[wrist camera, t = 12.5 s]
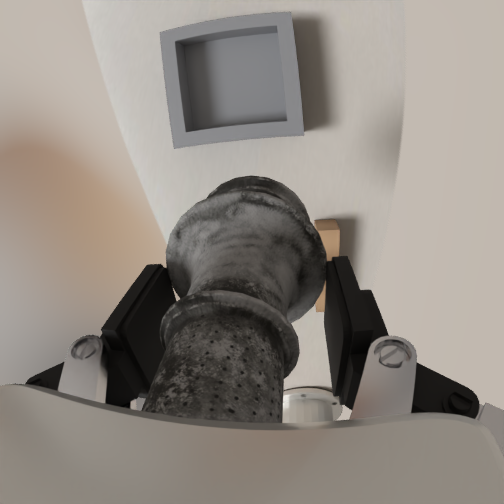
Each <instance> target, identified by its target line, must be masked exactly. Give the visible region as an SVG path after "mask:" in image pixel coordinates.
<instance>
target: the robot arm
mask: <svg viewBox="0 0 504 504" xmlns="http://www.w3.org/2000/svg"><path fill="white" fill-rule="evenodd" d="M176 302H177V301H176V298H175V295H174V291H173V287H172V284H171V281H170V277H169V274H168V271H167V268H164V267H163V266H162V265H161V264H154V265H153V264H150V265H147V266H146V267H145V268H144V270H143V271H142V272H141V274H140V275H139V277H138V278H137V279H136V280H135V282H134V283H133V284H132V286H131V287H130V289H129V290H128V291H127V293H126V294H125V296H124V297H123V298H122V300H121V301H120V302H119V304H118V305H117V307H116V308H115V310H114V311H113V313H112V314H111V315H110V317H109V318H108V320H107V321H106V323H105V324H104V326H103V327H102V329H101V331H102V335H101V336H100V337H99V336H96V335H86V336H82V337H80V338H79V339H77V340H76V341H74V342H73V343H72V344H71V346H70V347H69V349H68V352H67V355H66V359H65V362H63V363H61V364H58V365H56V366H54V367H52V368H50V369H48V370H45V371H43V372H41V373H39V374H37V375H35V376H33V377H31V378H29V379H28V381H27V382H26V383H25V384H16V383H15V384H6V385H2V386H0V504H504V410H502V409H499V408H497V407H495V406H493V405H490V404H488V403H485V405H484V406H483V405H480V404H479V400H478V398H477V396H476V394H475V393H474V392H473V391H472V390H470V389H469V388H467V387H465V386H463V385H461V384H459V383H457V382H455V381H453V380H451V379H449V378H447V377H445V376H443V375H441V374H439V373H437V372H435V371H433V370H431V369H429V368H427V367H425V366H423V365H421V364H419V363H417V354H416V350H415V348H414V346H413V345H412V344H411V343H410V342H409V341H407V340H406V339H404V338H401V337H398V336H389V335H388V332H387V329H386V327H385V324H384V321H383V319H382V316H381V313H380V311H379V308H378V306H377V303H376V301H375V298H374V296H373V293H372V291H371V290H360V288H359V285H358V283H357V280H356V277H355V275H354V272H353V269H352V267H351V264H350V261H349V259H348V257H347V256H337V257H332V261H327V263H326V290H325V311H324V328H325V335H326V342H327V349H328V357H329V365H330V373H331V382H332V391H333V393H332V392H329V391H326V390H323V389H317V388H298V389H291V390H287V391H284V392H283V420H282V423H247V422H227V421H214V420H202V419H190V418H182V417H175V416H169V415H162V414H156V413H150V412H144V411H138V410H136V399H137V398H138V397H140V398H146V397H147V395H148V392H149V390H150V387H151V385H152V383H153V380H154V378H155V375H156V373H157V370H158V368H159V365H160V363H161V361H162V358H163V356H164V353H165V351H164V349H163V347H162V345H161V339H160V327H161V322H162V318H163V317H164V315H165V314H166V312H167V311H168V309H169V308H170V306H171V305H173V304H174V303H176ZM338 396H339V397H338ZM342 405H345V406H346V407H348V408H349V409H351V410H352V413H351V416H350V419H349V420H341V421H335V420H336V419H337V418H338V417H339V416H340V415H341V413H342Z"/></svg>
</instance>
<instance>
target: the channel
mask: <svg viewBox="0 0 504 504" xmlns="http://www.w3.org/2000/svg"><path fill="white" fill-rule="evenodd" d="M315 228H316V230H317V231H318V232H319V234H320V237H321V240H322V242H323V245H324V248H325V250H326V253H327V261H332V257H337V256H339V241H340V229H339V227H338V225H337V222H336V220H335V219H332V220H315ZM325 290H326V281H325V285H324V288H323V291H322V293H321V294H320V296H319V298H318V299H317V301H316V303H315V305H316V312H324V311H325Z"/></svg>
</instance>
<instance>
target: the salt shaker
mask: <svg viewBox="0 0 504 504" xmlns="http://www.w3.org/2000/svg"><path fill="white" fill-rule="evenodd" d="M326 263H327V253H326V250H325V248H324V245H323V242H322V240H321V237H320V234H319V232H318V231H317V230H316V228H315V227H314V226H313V224H312V223H311V222H310V219H309V216H308V213H307V211H306V208H305V206H304V204H303V203H302V202H301V200H300V199H299V198H298V196H297V195H296V194H295V193H294V192H293V191H292V190H290V189H289V188H288V187H286V186H285V185H284V184H282V183H280V182H277V181H275V180H272V179H270V178H267V177H259V176H245V177H238V178H234V179H232V180H230V181H227V182H225V183H223V184H221V185H220V186H218V187H217V188H216V189H215V190H214V191H212V192H211V193H210V194H209V196H208V197H207V199H204V200H202V201H200V202H198V203H196V204H195V205H194V206H193V207H192V208H191V209H189V210H188V211H187V212H186V213H185V214H184V215H183V216H181V218H180V219H179V221H178V222H177V224H176V226H175V227H174V229H173V231H172V232H171V234H170V237H169V241H168V245H167V249H166V264H167V271H168V274H169V277H170V281H171V284H172V287H173V288H174V290H175V291H176V293H177V294H178V296H179V297H180V300H178V301H177V302H176V303H174V304H173V305H171V306H170V308H169V309H168V311H167V312H166V314H165V315H164V317H163V318H162V322H161V327H160V339H161V345H162V347H163V349H164V351H165V353H164V356H163V358H162V361H161V363H160V365H159V368H158V370H157V373H156V375H155V378H154V380H153V383H152V385H151V387H150V390H149V392H148V395H147V397H146V400H145V403H144V405H143V408H142V410H141V411H144V412H150V413H156V414H162V415H169V416H175V417H182V418H190V419H202V420H214V421H227V422H247V423H282V420H283V386H284V378H286V377H287V376H289V374H290V373H291V372H292V370H293V369H294V368H295V366H296V364H297V361H298V357H299V354H300V352H299V342H298V336H297V334H296V332H295V330H294V328H293V326H292V324H291V323H292V322H294V321H296V320H298V319H300V318H301V317H302V316H303V315H304V314H305V313H306V312H307V311H309V310H310V309H311V308H312V307H313V306H314V304H315V303H316V301H317V299H318V298H319V296H320V294H321V293H322V291H323V288H324V285H325V281H326Z"/></svg>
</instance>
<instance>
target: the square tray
mask: <svg viewBox="0 0 504 504" xmlns="http://www.w3.org/2000/svg"><path fill="white" fill-rule="evenodd" d="M160 40H161V51H162V61H163V70H164V79H165V88H166V96H167V103H168V111H169V118H170V125H171V132H172V139H173V145H174V149H176V148H183V147H189V146H196V145H203V144H211V143H219V142H227V141H237V140H247V139H258V138H271V137H287V136H304V126H303V113H302V102H301V91H300V81H299V71H298V62H297V54H296V46H295V38H294V30H293V23H292V16H291V12H277V13H264V14H253V15H244V16H236V17H229V18H223V19H217V20H211V21H206V22H201V23H196V24H191V25H187V26H182V27H178V28H174V29H170V30H166V31H163V32H160Z"/></svg>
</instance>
